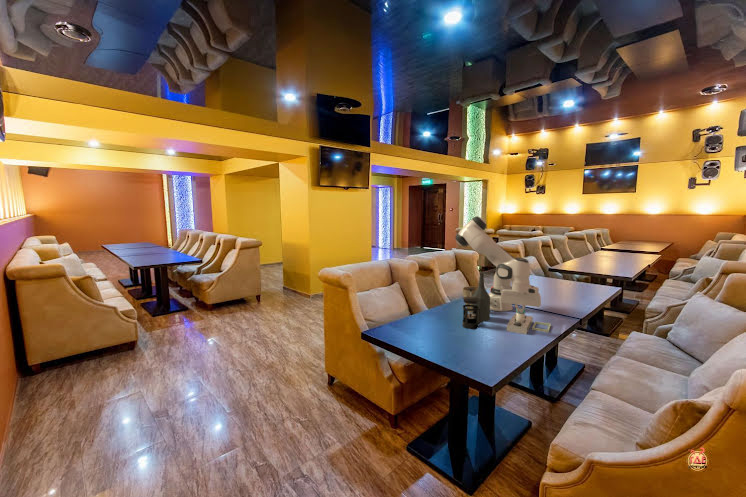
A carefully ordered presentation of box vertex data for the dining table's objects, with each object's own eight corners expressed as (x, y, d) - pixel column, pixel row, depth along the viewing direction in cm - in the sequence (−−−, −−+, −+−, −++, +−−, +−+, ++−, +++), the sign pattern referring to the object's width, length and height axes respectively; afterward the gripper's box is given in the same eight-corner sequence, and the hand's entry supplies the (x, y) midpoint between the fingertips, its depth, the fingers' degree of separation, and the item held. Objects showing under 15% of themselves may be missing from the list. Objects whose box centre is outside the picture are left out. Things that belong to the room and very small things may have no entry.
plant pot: (457, 310, 222) (458, 287, 220) (476, 307, 226) (476, 285, 224) (470, 316, 208) (470, 292, 206) (490, 313, 212) (490, 290, 210)
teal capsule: (514, 326, 184) (515, 309, 182) (516, 324, 187) (516, 307, 186) (523, 328, 181) (524, 311, 180) (525, 325, 185) (525, 309, 184)
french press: (458, 325, 192) (458, 288, 189) (467, 322, 198) (467, 285, 195) (475, 331, 183) (476, 291, 180) (484, 327, 189) (485, 288, 186)
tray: (532, 332, 179) (532, 327, 179) (535, 325, 189) (535, 321, 189) (548, 335, 175) (548, 330, 174) (550, 328, 184) (550, 323, 184)
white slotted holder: (526, 337, 172) (526, 328, 172) (506, 333, 178) (506, 324, 178) (532, 324, 191) (532, 316, 190) (514, 321, 196) (514, 313, 196)
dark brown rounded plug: (514, 329, 178) (514, 323, 177) (515, 327, 180) (515, 321, 180) (520, 330, 176) (520, 324, 175) (521, 328, 178) (521, 322, 178)
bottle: (487, 318, 204) (488, 271, 201) (491, 323, 194) (492, 274, 191) (470, 317, 205) (471, 271, 202) (474, 323, 195) (474, 274, 192)
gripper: (499, 286, 178) (498, 311, 180) (540, 291, 167) (539, 316, 169) (501, 284, 183) (501, 308, 185) (541, 288, 172) (541, 313, 174)
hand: (519, 312), depth 177 cm, fingers closed
